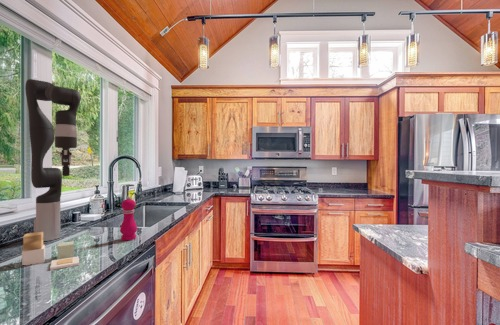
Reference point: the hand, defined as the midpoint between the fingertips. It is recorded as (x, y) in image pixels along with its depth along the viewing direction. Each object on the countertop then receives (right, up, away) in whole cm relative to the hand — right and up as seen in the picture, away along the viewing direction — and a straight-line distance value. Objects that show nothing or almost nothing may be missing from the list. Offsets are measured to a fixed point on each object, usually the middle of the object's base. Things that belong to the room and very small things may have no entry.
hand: (66, 175), depth 113 cm
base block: (-2, -30, -15) cm, 34 cm away
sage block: (+6, -30, -10) cm, 32 cm away
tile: (+11, -30, -17) cm, 36 cm away
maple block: (-2, -25, -15) cm, 29 cm away
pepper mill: (+19, -30, +14) cm, 39 cm away
